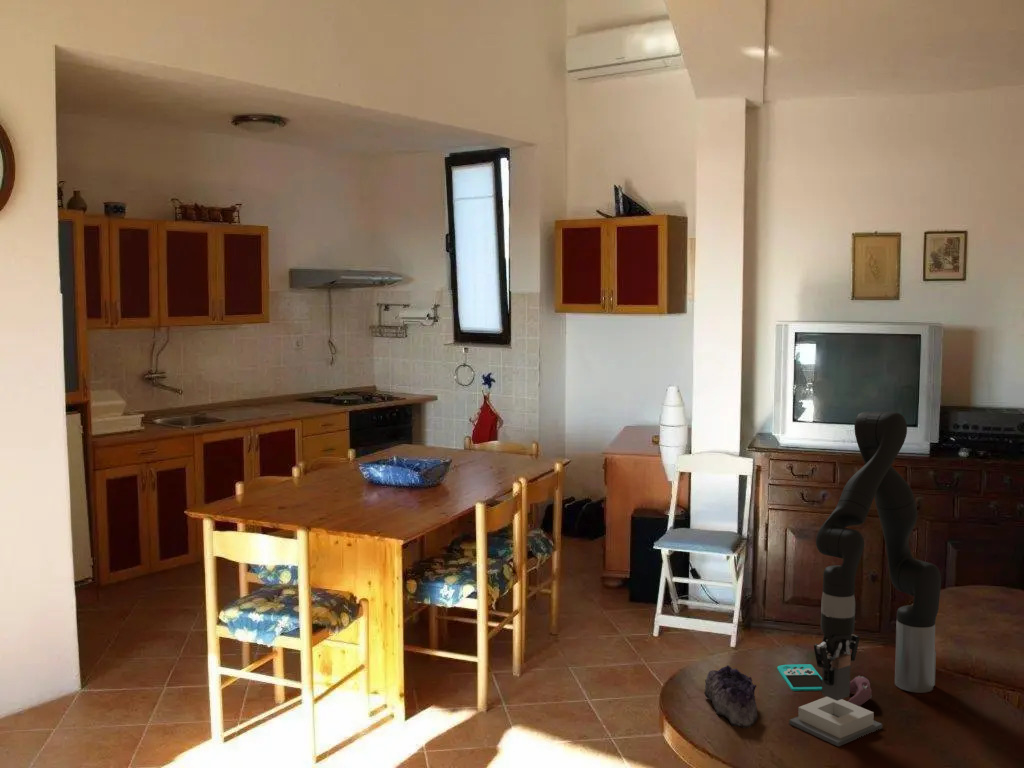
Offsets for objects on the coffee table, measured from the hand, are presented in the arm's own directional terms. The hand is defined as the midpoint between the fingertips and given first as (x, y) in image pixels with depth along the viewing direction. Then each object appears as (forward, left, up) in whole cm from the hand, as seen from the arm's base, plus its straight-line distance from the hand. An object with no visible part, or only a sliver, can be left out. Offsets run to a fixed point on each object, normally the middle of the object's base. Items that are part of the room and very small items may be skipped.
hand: (835, 681), depth 230 cm
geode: (+13, -20, -11) cm, 26 cm away
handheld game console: (-16, -23, -12) cm, 30 cm away
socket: (0, 0, -11) cm, 11 cm away
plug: (0, 0, -3) cm, 3 cm away
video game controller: (-16, -6, -11) cm, 20 cm away
